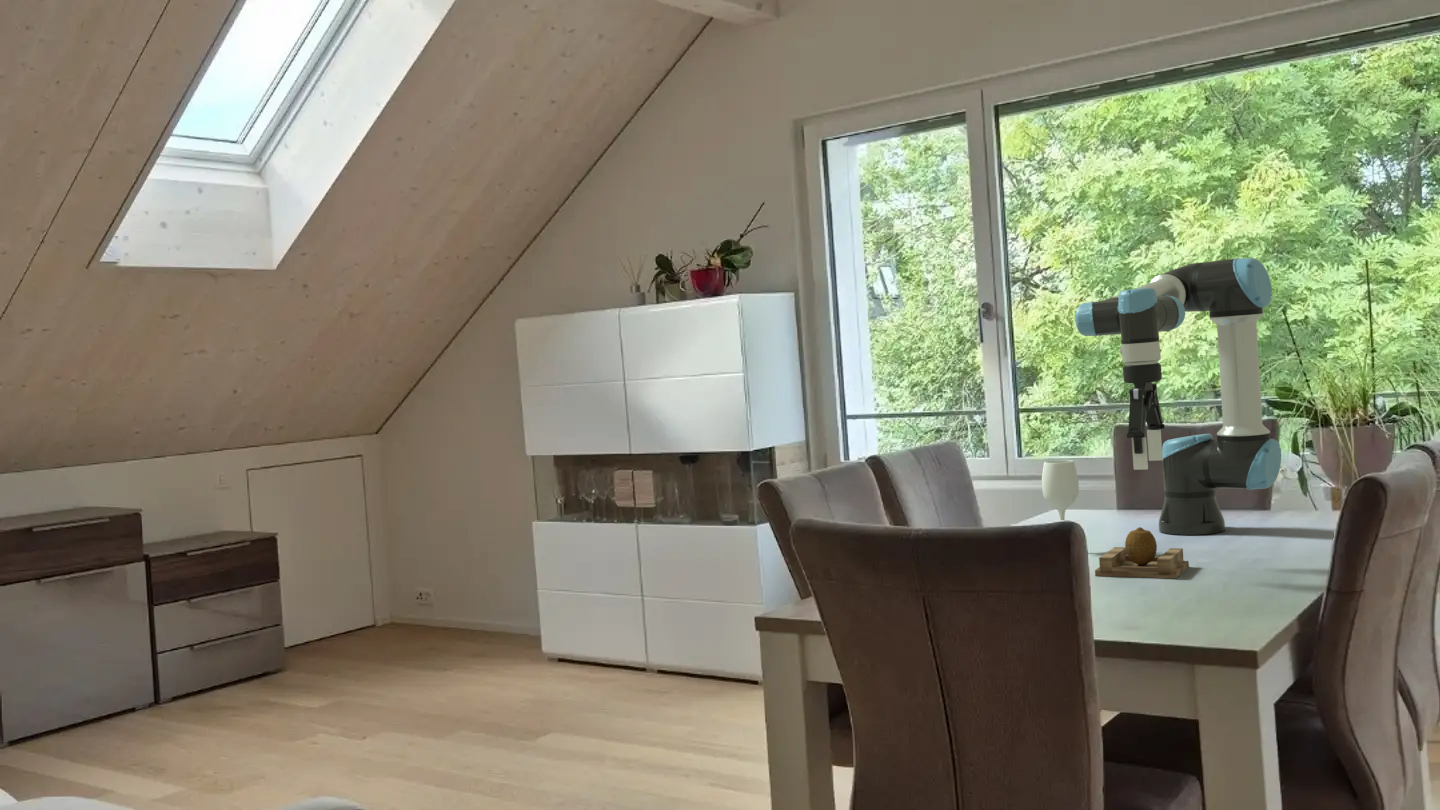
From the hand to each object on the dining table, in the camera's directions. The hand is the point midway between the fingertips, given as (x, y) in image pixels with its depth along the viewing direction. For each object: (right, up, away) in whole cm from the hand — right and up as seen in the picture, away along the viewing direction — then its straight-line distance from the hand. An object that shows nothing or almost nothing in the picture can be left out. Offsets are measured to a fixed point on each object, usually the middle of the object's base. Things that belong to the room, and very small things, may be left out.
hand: (1148, 465), depth 260 cm
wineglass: (-10, -22, +28) cm, 37 cm away
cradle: (-2, -22, -1) cm, 22 cm away
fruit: (-2, -21, -1) cm, 21 cm away
